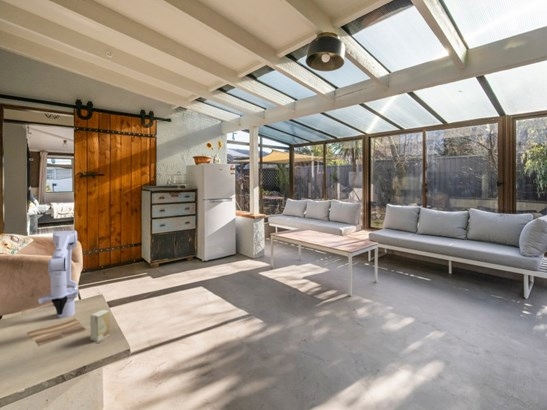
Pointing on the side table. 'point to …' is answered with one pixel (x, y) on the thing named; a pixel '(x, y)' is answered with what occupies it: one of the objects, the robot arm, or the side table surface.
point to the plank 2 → (72, 330)
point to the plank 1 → (49, 338)
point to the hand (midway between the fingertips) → (59, 313)
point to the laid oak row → (50, 330)
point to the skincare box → (100, 325)
